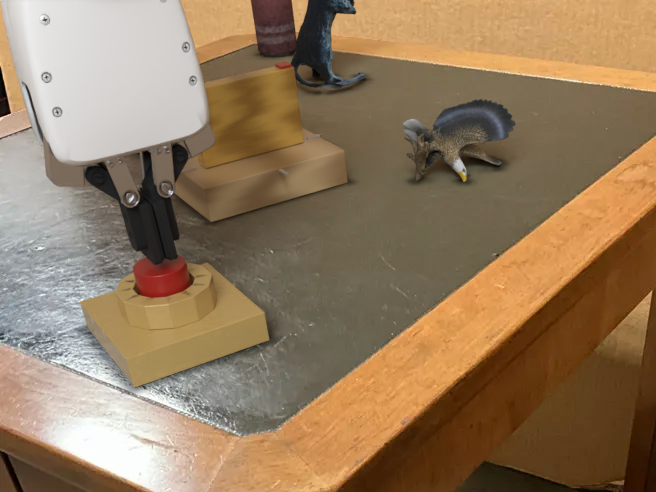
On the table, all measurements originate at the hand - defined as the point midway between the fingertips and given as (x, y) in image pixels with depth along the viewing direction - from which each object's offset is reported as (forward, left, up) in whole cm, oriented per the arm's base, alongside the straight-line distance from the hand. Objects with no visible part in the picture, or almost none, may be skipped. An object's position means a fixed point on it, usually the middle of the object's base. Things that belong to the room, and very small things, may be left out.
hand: (158, 254), depth 60 cm
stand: (+17, +22, -6) cm, 29 cm away
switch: (0, 0, -6) cm, 6 cm away
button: (0, 0, -3) cm, 2 cm away
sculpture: (+39, +46, -6) cm, 61 cm away
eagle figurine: (+33, +12, -6) cm, 36 cm away
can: (+40, +64, -6) cm, 76 cm away
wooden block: (+17, +22, -3) cm, 28 cm away
